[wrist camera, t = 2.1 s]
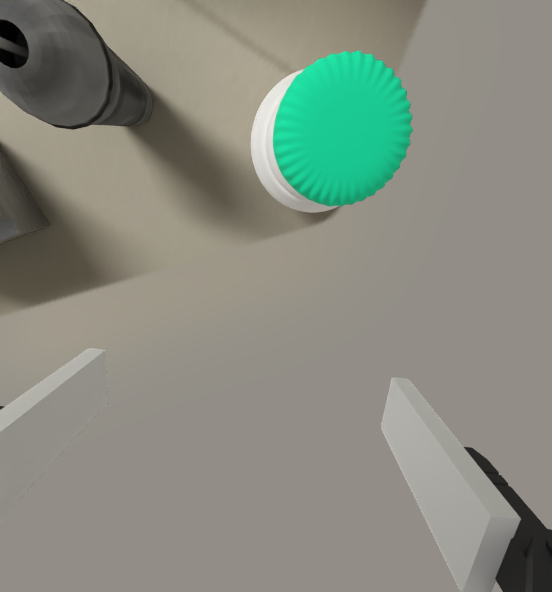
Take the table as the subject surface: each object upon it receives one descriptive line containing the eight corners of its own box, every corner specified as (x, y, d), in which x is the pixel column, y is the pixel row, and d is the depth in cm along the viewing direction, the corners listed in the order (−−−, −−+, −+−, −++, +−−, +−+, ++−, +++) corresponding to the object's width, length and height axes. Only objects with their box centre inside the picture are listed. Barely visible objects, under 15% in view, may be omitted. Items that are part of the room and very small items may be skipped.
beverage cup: (161, 149, 32) (19, 131, 14) (91, 128, 31) (-164, 77, 13) (171, 70, 29) (8, -87, 11) (93, 44, 28) (-226, -175, 10)
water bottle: (290, 203, 35) (332, 279, 12) (246, 153, 32) (190, 129, 10) (338, 156, 33) (499, 138, 10) (294, 100, 31) (370, -89, 8)
